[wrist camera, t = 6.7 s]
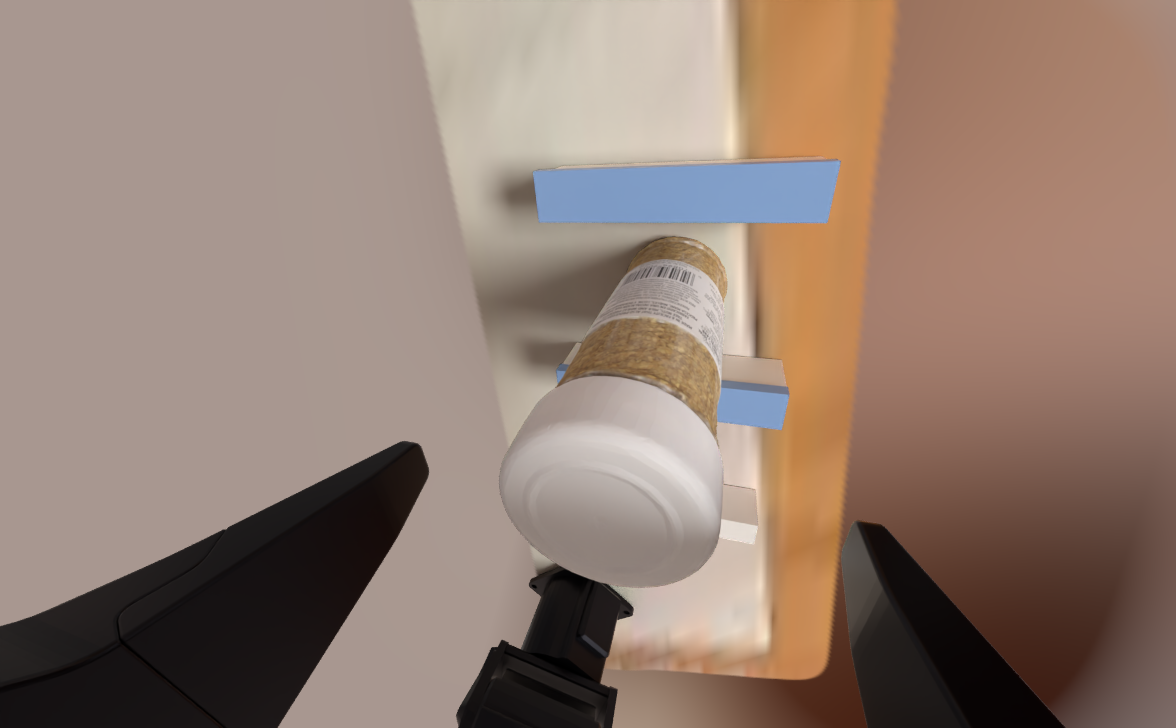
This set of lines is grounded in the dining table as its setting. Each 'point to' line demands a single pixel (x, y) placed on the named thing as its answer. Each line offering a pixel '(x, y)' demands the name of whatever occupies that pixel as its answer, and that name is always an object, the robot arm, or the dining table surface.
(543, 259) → the dining table surface
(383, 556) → the robot arm
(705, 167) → the rail comb
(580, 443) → the sprinkles bottle
